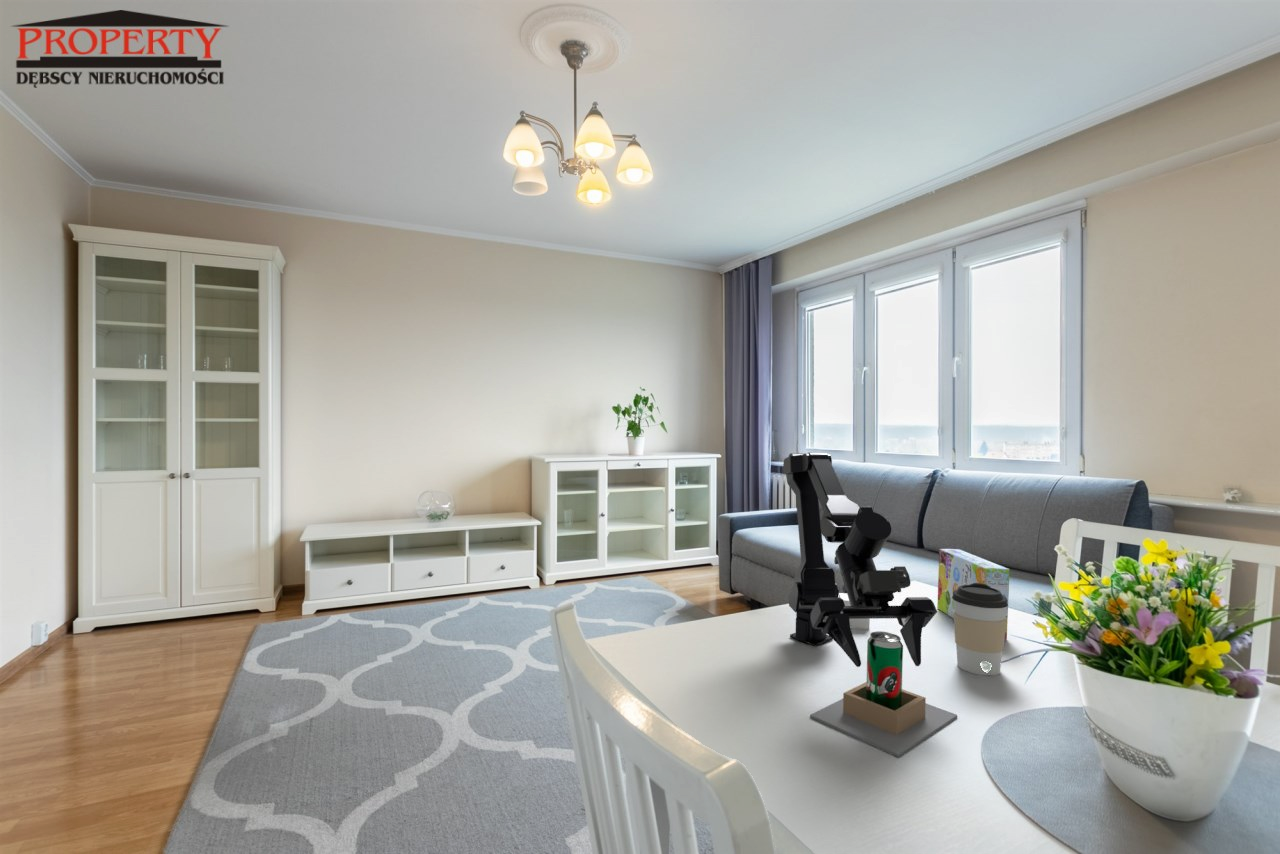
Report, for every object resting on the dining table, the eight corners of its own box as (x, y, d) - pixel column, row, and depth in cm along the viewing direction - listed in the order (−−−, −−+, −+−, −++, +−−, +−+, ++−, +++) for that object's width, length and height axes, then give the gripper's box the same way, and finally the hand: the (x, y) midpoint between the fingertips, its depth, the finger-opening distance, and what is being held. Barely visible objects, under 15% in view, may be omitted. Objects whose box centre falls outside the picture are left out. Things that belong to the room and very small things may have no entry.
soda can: (907, 716, 92) (909, 637, 92) (889, 725, 89) (891, 644, 89) (877, 703, 96) (879, 628, 96) (859, 711, 93) (861, 634, 93)
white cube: (838, 618, 140) (838, 592, 140) (865, 621, 138) (866, 594, 138) (840, 627, 134) (841, 600, 134) (869, 629, 132) (869, 602, 132)
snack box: (1010, 640, 127) (1011, 568, 127) (983, 639, 127) (984, 568, 127) (958, 608, 148) (959, 547, 148) (935, 608, 148) (936, 547, 148)
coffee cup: (1006, 682, 106) (1007, 597, 106) (948, 670, 110) (950, 589, 110) (1007, 665, 113) (1008, 585, 113) (953, 654, 118) (954, 578, 118)
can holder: (872, 685, 104) (872, 666, 103) (957, 717, 93) (957, 695, 93) (810, 717, 92) (810, 695, 92) (898, 757, 81) (898, 732, 81)
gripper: (817, 547, 96) (843, 642, 85) (931, 547, 97) (972, 641, 86) (800, 583, 104) (822, 674, 93) (906, 583, 105) (940, 673, 94)
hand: (888, 665), depth 91 cm, fingers open, 9 cm apart
